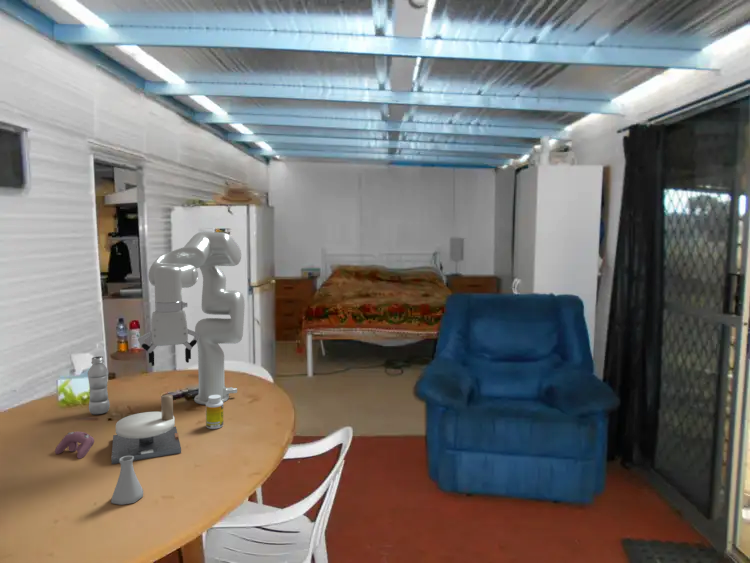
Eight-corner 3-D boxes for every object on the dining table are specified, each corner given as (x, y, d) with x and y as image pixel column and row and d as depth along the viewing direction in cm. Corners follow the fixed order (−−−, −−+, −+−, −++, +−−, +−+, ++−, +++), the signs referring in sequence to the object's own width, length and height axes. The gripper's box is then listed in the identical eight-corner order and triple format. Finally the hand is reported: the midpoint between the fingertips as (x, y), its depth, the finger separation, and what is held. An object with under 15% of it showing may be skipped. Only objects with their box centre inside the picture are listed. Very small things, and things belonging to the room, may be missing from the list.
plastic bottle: (114, 410, 180) (112, 355, 178) (102, 417, 173) (100, 360, 171) (97, 409, 180) (95, 354, 179) (84, 416, 174) (82, 359, 172)
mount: (175, 430, 163) (175, 414, 162) (181, 453, 147) (180, 434, 146) (113, 439, 155) (112, 422, 154) (111, 464, 139) (111, 445, 138)
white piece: (118, 421, 154) (117, 393, 154) (174, 415, 161) (173, 387, 160) (113, 441, 140) (112, 410, 139) (175, 433, 146) (174, 403, 145)
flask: (118, 490, 125) (117, 451, 124) (148, 490, 126) (147, 451, 125) (105, 506, 118) (104, 465, 117) (137, 505, 118) (136, 464, 117)
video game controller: (91, 459, 145) (99, 434, 147) (78, 459, 141) (87, 433, 143) (65, 454, 148) (73, 430, 150) (52, 453, 144) (61, 428, 146)
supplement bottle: (224, 428, 165) (223, 398, 164) (206, 430, 164) (205, 400, 163) (223, 422, 171) (222, 393, 170) (205, 424, 169) (205, 394, 168)
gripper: (197, 304, 157) (198, 357, 159) (136, 306, 149) (138, 363, 151) (200, 307, 150) (201, 363, 152) (137, 310, 143) (138, 369, 145)
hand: (170, 363), depth 152 cm, fingers open, 9 cm apart
